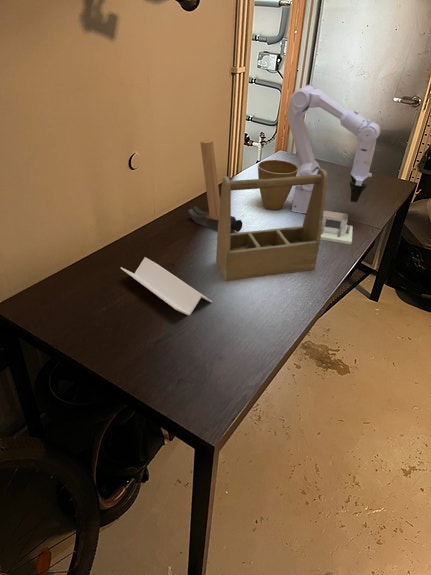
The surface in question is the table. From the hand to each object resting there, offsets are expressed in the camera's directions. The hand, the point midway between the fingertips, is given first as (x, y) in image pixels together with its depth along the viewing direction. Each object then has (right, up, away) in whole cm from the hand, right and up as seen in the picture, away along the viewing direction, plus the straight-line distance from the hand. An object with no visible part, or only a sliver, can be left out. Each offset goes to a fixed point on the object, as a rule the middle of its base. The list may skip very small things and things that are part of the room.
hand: (354, 197), depth 154 cm
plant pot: (-27, -1, +14) cm, 31 cm away
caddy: (-35, -26, -21) cm, 48 cm away
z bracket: (-64, -34, -33) cm, 80 cm away
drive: (-9, -12, -3) cm, 16 cm away
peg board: (-9, -13, -3) cm, 16 cm away
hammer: (-50, -11, -1) cm, 51 cm away
